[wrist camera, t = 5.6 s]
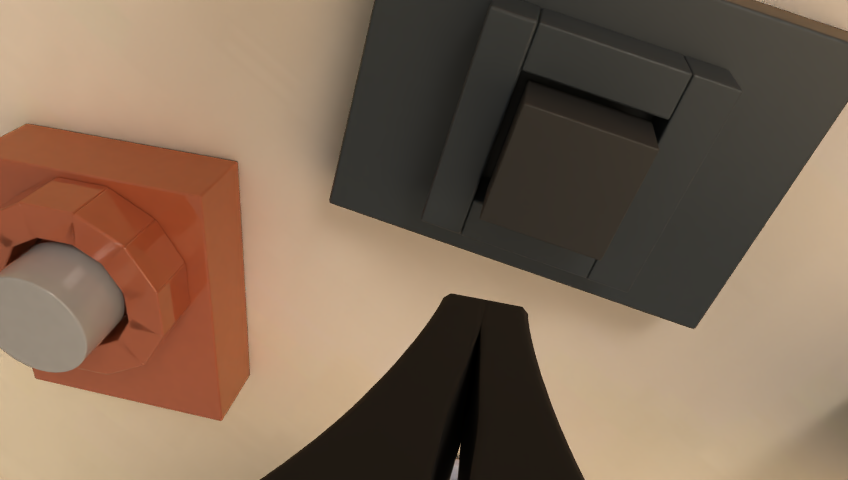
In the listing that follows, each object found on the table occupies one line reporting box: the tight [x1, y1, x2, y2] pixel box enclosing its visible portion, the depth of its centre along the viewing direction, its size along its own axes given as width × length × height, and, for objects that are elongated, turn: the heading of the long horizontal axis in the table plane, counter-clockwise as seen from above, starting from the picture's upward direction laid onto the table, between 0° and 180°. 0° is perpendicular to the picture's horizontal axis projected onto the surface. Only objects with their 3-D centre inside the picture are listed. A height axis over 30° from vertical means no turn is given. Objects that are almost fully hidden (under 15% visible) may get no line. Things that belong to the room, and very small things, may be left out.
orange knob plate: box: [0, 124, 250, 421], centre depth 24 cm, size 10×8×4 cm
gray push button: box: [0, 242, 125, 373], centre depth 21 cm, size 4×4×2 cm
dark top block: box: [480, 80, 659, 261], centre depth 16 cm, size 3×3×2 cm
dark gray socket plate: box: [329, 0, 848, 329], centre depth 18 cm, size 9×12×4 cm
